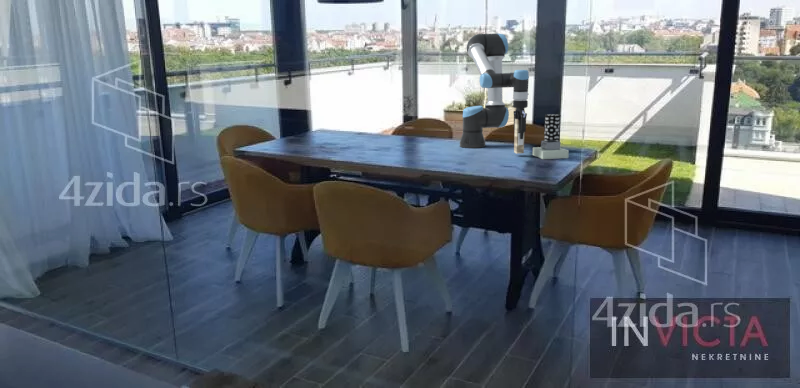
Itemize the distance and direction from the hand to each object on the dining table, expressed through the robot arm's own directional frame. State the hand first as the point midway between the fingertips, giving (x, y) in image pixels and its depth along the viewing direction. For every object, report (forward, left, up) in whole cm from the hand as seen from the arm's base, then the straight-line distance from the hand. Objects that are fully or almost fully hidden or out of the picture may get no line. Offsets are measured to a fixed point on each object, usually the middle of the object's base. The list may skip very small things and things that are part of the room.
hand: (519, 144), depth 330 cm
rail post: (0, 0, -5) cm, 5 cm away
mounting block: (+15, -6, -6) cm, 17 cm away
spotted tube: (+23, +11, -7) cm, 26 cm away
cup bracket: (+15, -6, -2) cm, 16 cm away
